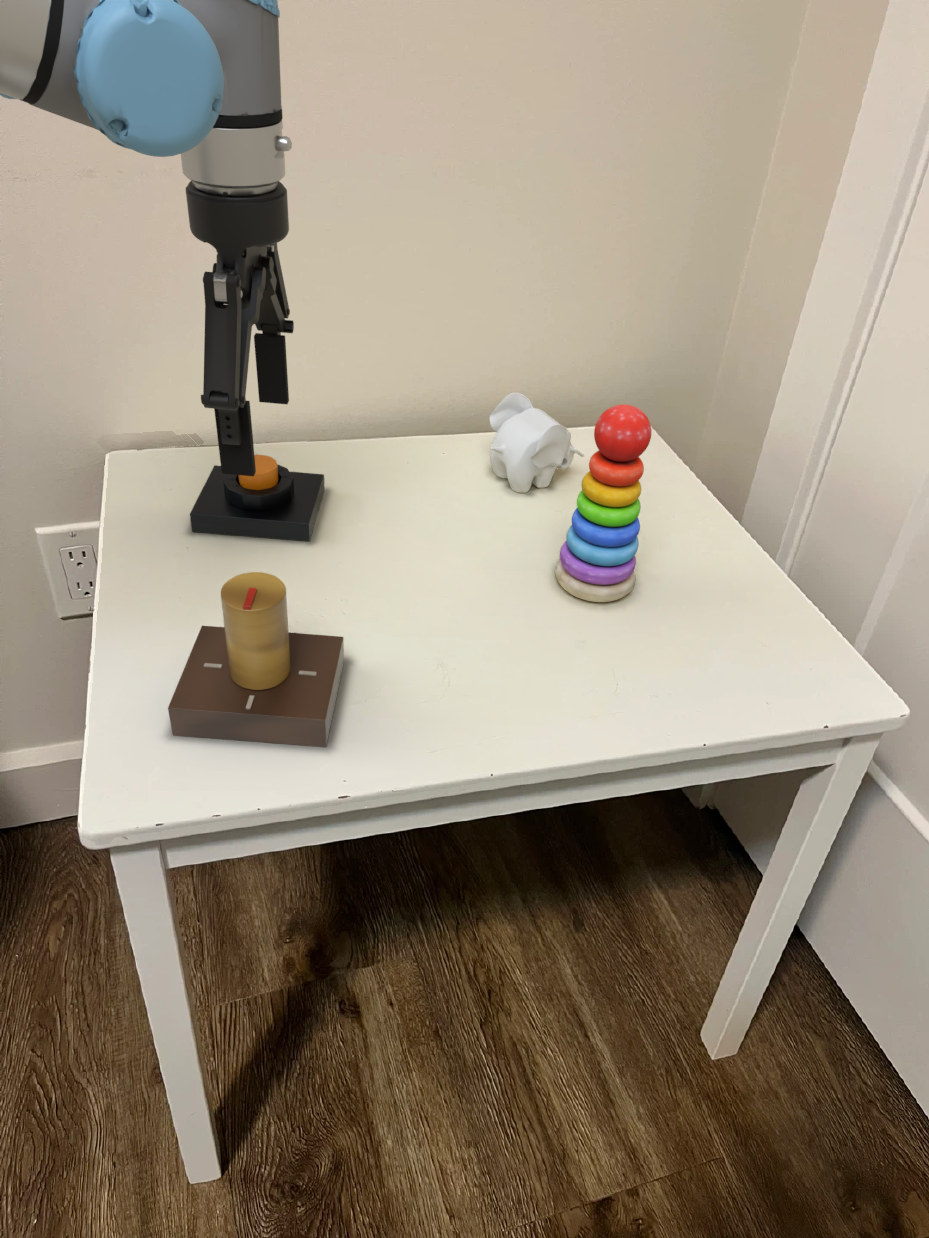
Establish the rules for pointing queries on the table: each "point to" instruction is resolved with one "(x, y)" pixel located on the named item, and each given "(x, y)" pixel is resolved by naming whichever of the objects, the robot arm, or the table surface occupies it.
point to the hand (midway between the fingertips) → (257, 435)
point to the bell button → (261, 474)
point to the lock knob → (256, 630)
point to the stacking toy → (607, 511)
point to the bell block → (259, 506)
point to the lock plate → (259, 694)
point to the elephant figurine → (528, 444)
